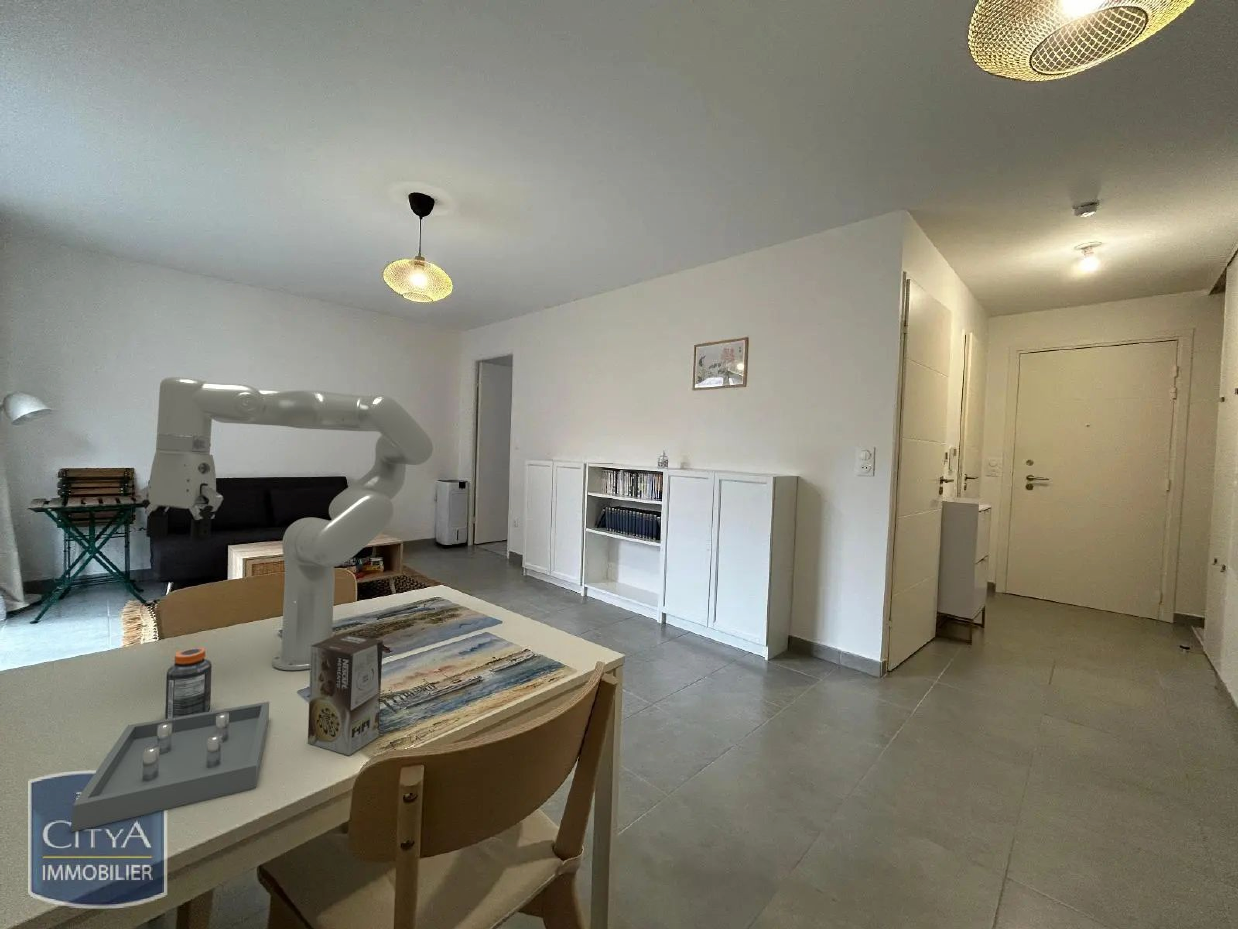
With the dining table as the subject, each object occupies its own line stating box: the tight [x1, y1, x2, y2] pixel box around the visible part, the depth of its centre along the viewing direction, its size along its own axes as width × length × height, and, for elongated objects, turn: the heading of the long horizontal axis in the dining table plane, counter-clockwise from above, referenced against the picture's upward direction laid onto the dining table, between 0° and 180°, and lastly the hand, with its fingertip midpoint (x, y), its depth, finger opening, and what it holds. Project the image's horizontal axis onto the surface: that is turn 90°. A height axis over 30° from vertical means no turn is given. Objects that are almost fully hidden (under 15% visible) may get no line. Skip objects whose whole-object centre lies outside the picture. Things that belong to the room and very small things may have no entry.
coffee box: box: [307, 633, 384, 756], centre depth 82 cm, size 9×6×16 cm
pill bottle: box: [164, 647, 213, 719], centre depth 86 cm, size 6×6×11 cm
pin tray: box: [71, 701, 270, 833], centre depth 73 cm, size 18×20×5 cm
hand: (178, 538), depth 92 cm, fingers open, 9 cm apart
